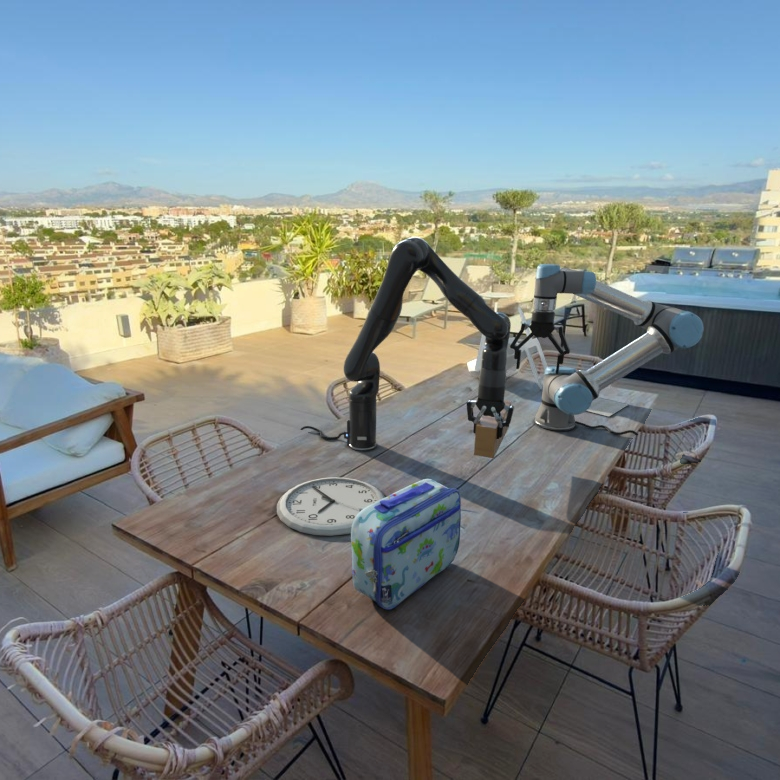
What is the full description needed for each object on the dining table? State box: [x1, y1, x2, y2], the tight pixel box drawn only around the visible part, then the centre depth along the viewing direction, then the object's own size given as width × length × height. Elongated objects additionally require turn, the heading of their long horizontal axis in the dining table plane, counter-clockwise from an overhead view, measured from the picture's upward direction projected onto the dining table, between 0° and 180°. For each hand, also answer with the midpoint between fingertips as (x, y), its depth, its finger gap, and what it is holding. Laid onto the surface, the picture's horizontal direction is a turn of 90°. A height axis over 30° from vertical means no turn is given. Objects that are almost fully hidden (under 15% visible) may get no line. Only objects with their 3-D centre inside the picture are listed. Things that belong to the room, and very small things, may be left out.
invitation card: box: [586, 397, 629, 418], centre depth 226 cm, size 21×1×15 cm
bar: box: [473, 399, 513, 459], centre depth 165 cm, size 27×6×9 cm, turn 158°
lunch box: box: [350, 478, 462, 611], centre depth 110 cm, size 26×11×21 cm, turn 135°
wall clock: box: [276, 476, 386, 537], centre depth 142 cm, size 30×2×30 cm
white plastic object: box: [466, 306, 549, 390], centre depth 259 cm, size 37×45×31 cm
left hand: (487, 436), depth 156 cm, fingers closed on bar, 6 cm apart
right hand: (537, 370), depth 185 cm, fingers open, 13 cm apart
